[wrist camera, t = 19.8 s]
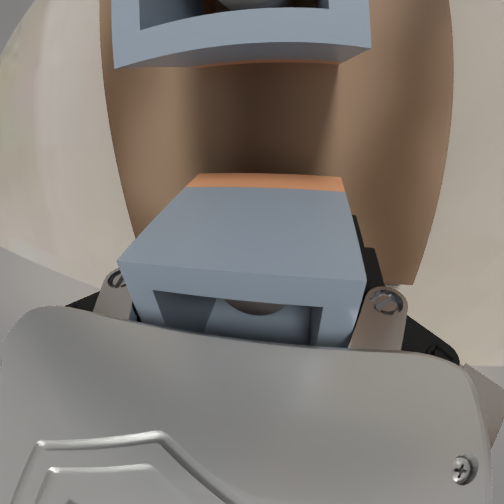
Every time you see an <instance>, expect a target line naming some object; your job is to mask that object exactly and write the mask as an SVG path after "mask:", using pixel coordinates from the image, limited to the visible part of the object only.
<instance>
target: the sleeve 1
mask: <svg viewBox="0 0 504 504" xmlns="http://www.w3.org/2000/svg"><path fill="white" fill-rule="evenodd" d="M315 1H316V8H294V7H287V8H259V9H246V10H236V11H227V12H220V13H216V0H111V20H112V45H113V60H114V69H121V68H138V67H191V68H205V67H213V66H222V65H233V64H247V63H271V62H297V63H322V64H335V65H339V64H341V63H343V62H345V61H347V60H349V59H351V58H353V57H355V56H357V55H359V54H361V53H363V52H365V51H367V50H369V49H371V28H370V13H369V1H368V0H315Z"/></svg>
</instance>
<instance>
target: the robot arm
mask: <svg viewBox="0 0 504 504" xmlns="http://www.w3.org/2000/svg"><path fill="white" fill-rule="evenodd" d="M352 218H353V222H354V226H355V230H356V234H357V238H358V242H359V246H360V250H361V255H362V259H363V264H364V269H365V273H366V278H367V282H366V286H365V290H364V294H363V297H362V301H361V305H360V308H359V311H358V315H357V318H356V322H355V325H354V328H353V331H352V334H351V337H350V340H349V344H348V347H347V348H338V347H322V346H307V345H294V344H283V343H273V342H264V341H255V340H246V339H238V338H230V337H223V336H216V335H209V334H203V333H196V332H190V331H184V330H178V329H173V328H167V327H162V326H156V325H151V324H146V323H142V321H141V319H140V317H139V314H138V312H137V310H136V308H135V305H134V303H133V301H132V298H131V296H130V294H129V291H128V289H127V286H126V284H125V281H124V279H123V276H122V273H121V271H120V268H118V269H115V270H113V271H112V272H110V273H109V274H108V275H107V276H106V278H105V280H104V282H103V285H102V288H101V290H100V291H99V292H97V293H94V294H92V295H90V296H87V297H85V298H83V299H80V300H78V301H76V302H73V303H71V304H69V305H66V306H45V307H38V308H35V309H32V310H30V311H28V312H26V313H25V314H24V315H23V316H22V317H21V318H20V319H19V320H18V321H17V322H16V323H15V325H14V326H13V327H12V328H11V329H10V331H9V332H8V333H7V335H6V336H5V337H4V339H3V340H2V342H1V343H0V504H492V462H491V448H492V446H493V443H494V441H495V439H496V437H497V434H498V432H499V429H500V427H501V424H502V422H503V419H504V390H503V389H502V388H501V387H500V386H498V385H497V384H495V383H494V382H493V381H491V380H490V379H488V378H487V377H485V376H484V375H482V374H481V373H479V372H478V371H476V370H475V369H474V368H472V367H471V366H469V365H468V364H466V363H465V365H464V366H462V365H461V364H460V361H459V357H458V355H457V353H456V352H455V350H454V349H453V348H452V347H451V346H450V345H448V344H447V343H445V342H444V341H443V340H441V339H440V338H438V337H437V336H436V335H434V334H433V333H432V332H430V331H429V330H427V329H426V328H425V327H423V326H422V325H420V324H419V323H417V322H416V321H415V320H413V319H412V318H410V317H409V316H407V310H408V303H407V301H406V299H405V297H404V296H403V295H402V294H401V293H400V292H398V291H397V290H395V289H392V288H390V287H385V285H384V281H383V277H382V273H381V270H380V266H379V262H378V259H377V255H376V252H375V249H374V248H371V247H364V243H363V239H362V235H361V232H360V228H359V224H358V221H357V217H356V215H352Z"/></svg>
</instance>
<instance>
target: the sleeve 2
mask: <svg viewBox="0 0 504 504" xmlns="http://www.w3.org/2000/svg"><path fill="white" fill-rule="evenodd" d="M117 263H118V266H119V268H120V271H121V273H122V276H123V279H124V281H125V284H126V286H127V289H128V291H129V294H130V296H131V298H132V301H133V303H134V305H135V308H136V310H137V312H138V314H139V317H140V319H141V321H142V323H146V324H151V325H156V326H162V327H167V328H173V329H178V330H184V331H190V332H196V333H203V334H209V335H216V336H223V337H230V338H238V339H246V340H255V341H264V342H273V343H283V344H294V345H307V346H322V347H338V348H347V347H348V344H349V340H350V337H351V334H352V331H353V328H354V325H355V322H356V318H357V315H358V311H359V308H360V305H361V301H362V297H363V294H364V290H365V286H366V282H367V278H366V273H365V269H364V264H363V259H362V255H361V250H360V246H359V242H358V238H357V234H356V230H355V226H354V222H353V218H352V214H351V210H350V207H349V203H348V200H347V196H346V193H345V189H344V186H343V183H342V179H341V177H332V176H317V175H298V174H270V173H199V174H198V175H197V176H196V177H195V178H194V179H193V180H192V181H191V182H190V183H189V184H188V185H187V186H186V187H185V188H184V189H183V190H182V191H181V192H180V193H179V194H178V195H177V196H176V197H175V198H174V199H173V200H172V201H171V202H170V203H169V204H168V205H167V206H166V207H165V208H164V209H163V210H162V211H161V212H160V213H159V214H158V215H157V216H156V217H155V218H154V219H153V221H152V222H151V223H150V224H149V225H148V226H147V227H146V228H145V229H144V230H143V231H142V232H141V234H140V235H139V236H138V237H137V238H136V239H135V240H134V241H133V242H132V244H131V245H130V246H129V247H128V248H127V249H126V250H125V252H124V253H123V254H122V255H121V256H120V257H119V259H118V260H117ZM225 299H232V300H241V301H252V302H263V303H274V304H286V305H285V306H284V307H283V308H282V309H281V310H279V311H277V312H275V313H273V314H269V315H250V314H246V313H243V312H241V311H239V310H237V309H235V308H233V307H232V306H231V305H229V304H228V303H227V302H226V301H225Z"/></svg>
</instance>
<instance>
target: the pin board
mask: <svg viewBox="0 0 504 504" xmlns="http://www.w3.org/2000/svg"><path fill="white" fill-rule="evenodd" d="M368 1H369V13H370V28H371V49H369V50H367V51H365V52H363V53H361V54H359V55H357V56H355V57H353V58H351V59H349V60H347V61H345V62H343V63H341V64H339V65H335V64H322V63H297V62H271V63H247V64H233V65H222V66H213V67H205V68H191V67H138V68H121V69H114V60H113V45H112V20H111V0H100V42H101V58H102V69H103V80H104V88H105V97H106V104H107V111H108V118H109V124H110V130H111V136H112V141H113V147H114V152H115V157H116V162H117V167H118V171H119V176H120V180H121V185H122V189H123V193H124V197H125V201H126V205H127V209H128V213H129V217H130V220H131V224H132V227H133V231H134V234H135V238H137V237H138V236H139V235H140V234H141V232H142V231H143V230H144V229H145V228H146V227H147V226H148V225H149V224H150V223H151V222H152V221H153V219H154V218H155V217H156V216H157V215H158V214H159V213H160V212H161V211H162V210H163V209H164V208H165V207H166V206H167V205H168V204H169V203H170V202H171V201H172V200H173V199H174V198H175V197H176V196H177V195H178V194H179V193H180V192H181V191H182V190H183V189H184V188H185V187H186V186H187V185H188V184H189V183H190V182H191V181H192V180H193V179H194V178H195V177H196V176H197V175H198V174H199V173H270V174H298V175H317V176H332V177H341V179H342V183H343V186H344V189H345V193H346V196H347V200H348V203H349V207H350V210H351V214H352V215H356V217H357V221H358V224H359V228H360V232H361V235H362V239H363V243H364V247H371V248H374V249H375V252H376V255H377V259H378V262H379V266H380V270H381V273H382V277H383V281H384V284H405V285H413V283H414V280H415V277H416V274H417V272H418V269H419V266H420V263H421V260H422V257H423V254H424V250H425V247H426V244H427V240H428V237H429V234H430V230H431V226H432V223H433V219H434V215H435V211H436V207H437V203H438V198H439V194H440V189H441V184H442V179H443V174H444V169H445V163H446V157H447V150H448V143H449V135H450V126H451V116H452V102H453V75H454V63H453V37H452V25H451V15H450V7H449V0H368ZM287 7H294V8H316V1H315V0H216V13H220V12H227V11H236V10H246V9H259V8H287ZM225 301H226V302H227V303H228V304H229V305H231V306H232V307H233V308H235V309H237V310H239V311H241V312H243V313H246V314H250V315H269V314H273V313H275V312H277V311H279V310H281V309H282V308H283V307H284V306H285V305H286V304H274V303H263V302H252V301H241V300H232V299H225Z"/></svg>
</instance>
